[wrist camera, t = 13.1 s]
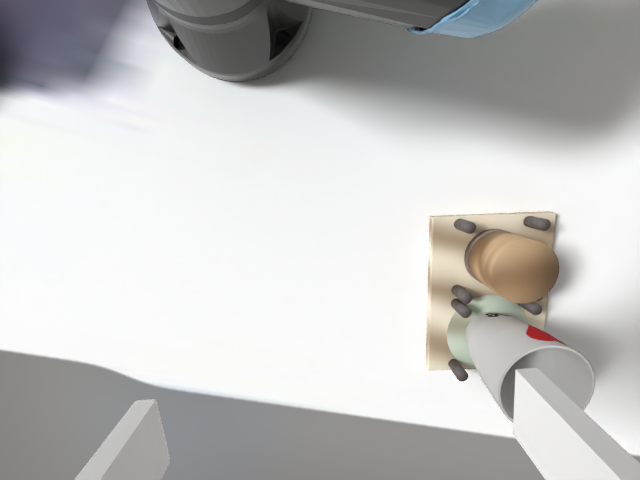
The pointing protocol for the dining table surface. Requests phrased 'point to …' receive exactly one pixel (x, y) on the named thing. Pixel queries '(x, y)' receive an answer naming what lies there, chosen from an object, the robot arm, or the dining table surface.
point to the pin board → (471, 284)
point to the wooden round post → (512, 265)
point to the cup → (524, 359)
